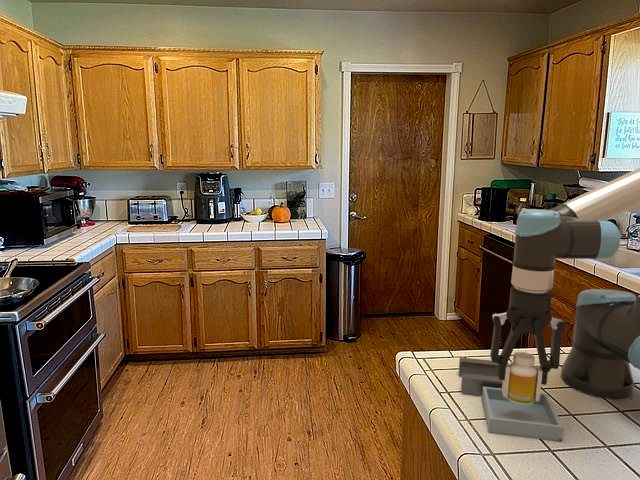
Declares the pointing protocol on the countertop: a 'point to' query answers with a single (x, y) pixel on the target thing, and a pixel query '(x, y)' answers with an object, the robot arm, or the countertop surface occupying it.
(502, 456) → the countertop surface
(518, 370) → the supplement bottle
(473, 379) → the steel jaws
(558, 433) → the grey tray
